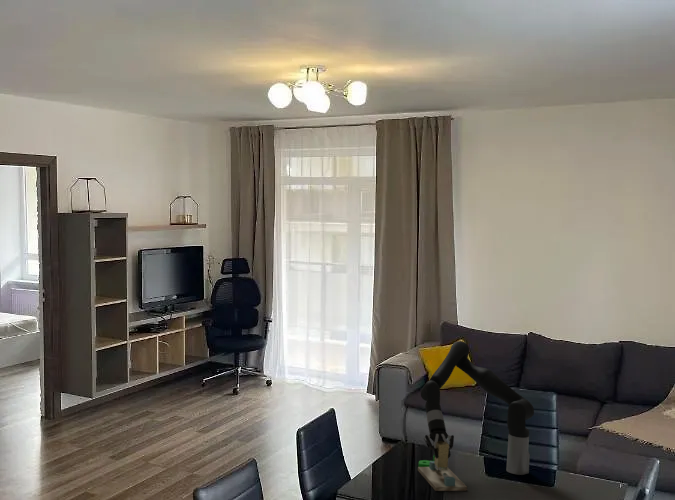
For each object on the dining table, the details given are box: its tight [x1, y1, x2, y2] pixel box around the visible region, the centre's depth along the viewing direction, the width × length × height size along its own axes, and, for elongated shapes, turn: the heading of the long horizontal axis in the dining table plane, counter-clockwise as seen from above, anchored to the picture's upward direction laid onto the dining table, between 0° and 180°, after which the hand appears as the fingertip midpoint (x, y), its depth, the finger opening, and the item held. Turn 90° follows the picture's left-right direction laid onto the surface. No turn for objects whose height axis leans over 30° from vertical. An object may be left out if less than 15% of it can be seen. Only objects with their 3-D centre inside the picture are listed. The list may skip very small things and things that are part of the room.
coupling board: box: [417, 460, 468, 492], centre depth 298 cm, size 14×25×4 cm, turn 10°
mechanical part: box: [418, 455, 435, 467], centre depth 315 cm, size 12×6×8 cm, turn 85°
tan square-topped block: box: [434, 441, 449, 467], centre depth 298 cm, size 4×4×10 cm
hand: (442, 457), depth 296 cm, fingers closed on tan square-topped block, 4 cm apart
